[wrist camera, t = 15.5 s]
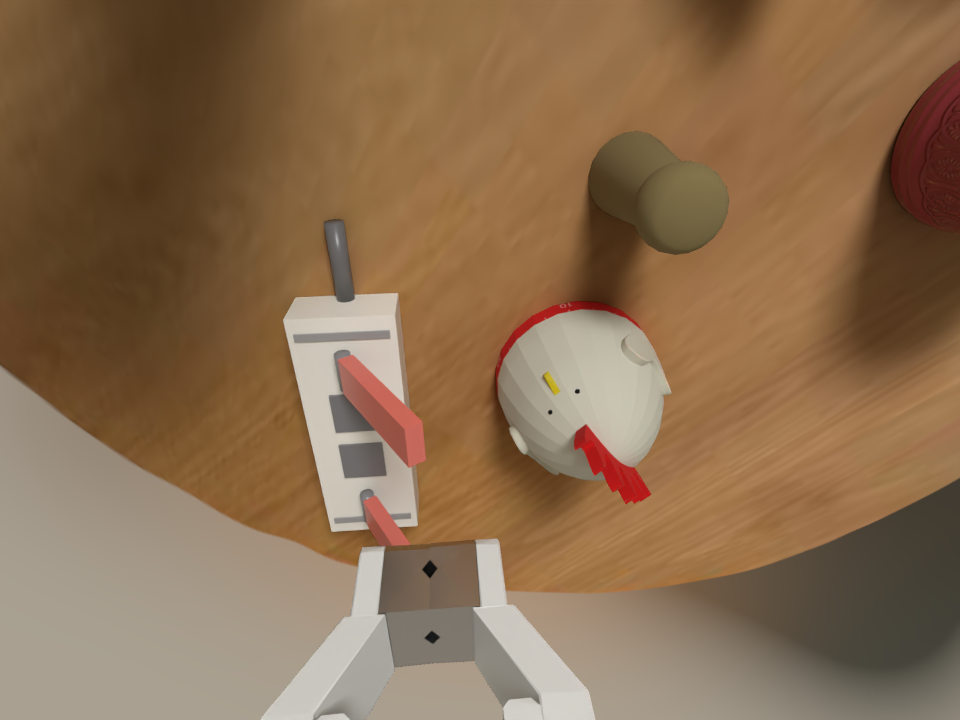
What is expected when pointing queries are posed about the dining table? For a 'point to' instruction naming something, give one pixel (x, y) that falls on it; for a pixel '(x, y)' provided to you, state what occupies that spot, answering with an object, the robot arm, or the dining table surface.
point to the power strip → (329, 414)
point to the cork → (658, 193)
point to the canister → (931, 156)
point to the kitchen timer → (583, 393)
